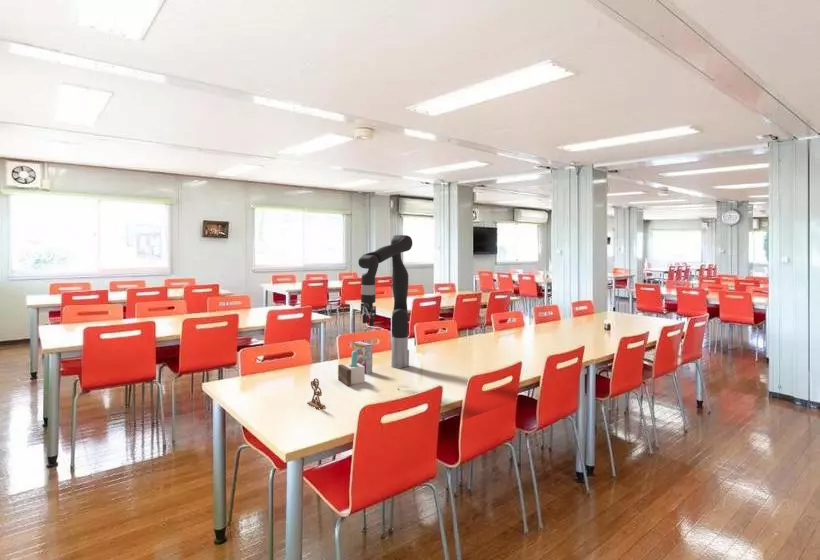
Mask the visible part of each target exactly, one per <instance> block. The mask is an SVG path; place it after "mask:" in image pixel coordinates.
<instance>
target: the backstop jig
mask: <svg viewBox="0 0 820 560" xmlns="http://www.w3.org/2000/svg"><path fill="white" fill-rule="evenodd" d="M344 365H345V364H342V363H340V364H338V366H337V369H338V371H337V375H338V376H337V378H338V379H337V380H338V381H339V382H340V383H342V384H343V385H345V387H352V384H351V370H350V369H349V368H347V367H346V366H344Z"/></svg>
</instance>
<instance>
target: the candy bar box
mask: <svg viewBox="0 0 820 560" xmlns="http://www.w3.org/2000/svg"><path fill="white" fill-rule="evenodd" d="M352 351H357V363H359V364H361V365H362V366H364V367H365V374H369V373H372V372H373V344H371V343H368V342H367V343H366V342H363V341H360V340H359V341H355V342H352Z"/></svg>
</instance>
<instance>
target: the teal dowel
mask: <svg viewBox="0 0 820 560" xmlns="http://www.w3.org/2000/svg"><path fill="white" fill-rule="evenodd" d="M350 362H351V363H350V364H351V367H357V351H353V350H352V351H351V361H350Z"/></svg>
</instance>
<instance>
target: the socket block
mask: <svg viewBox="0 0 820 560" xmlns="http://www.w3.org/2000/svg"><path fill="white" fill-rule="evenodd" d="M343 365H344V366H346V367H347V368H349V369H350V370H351V385H356V384H364V383H365V379H366V378H365V377H366V376H365V374H366V373H365V367H364V366H362V365H361V364H359V363H357V367H351V363H347V364H343Z"/></svg>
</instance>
